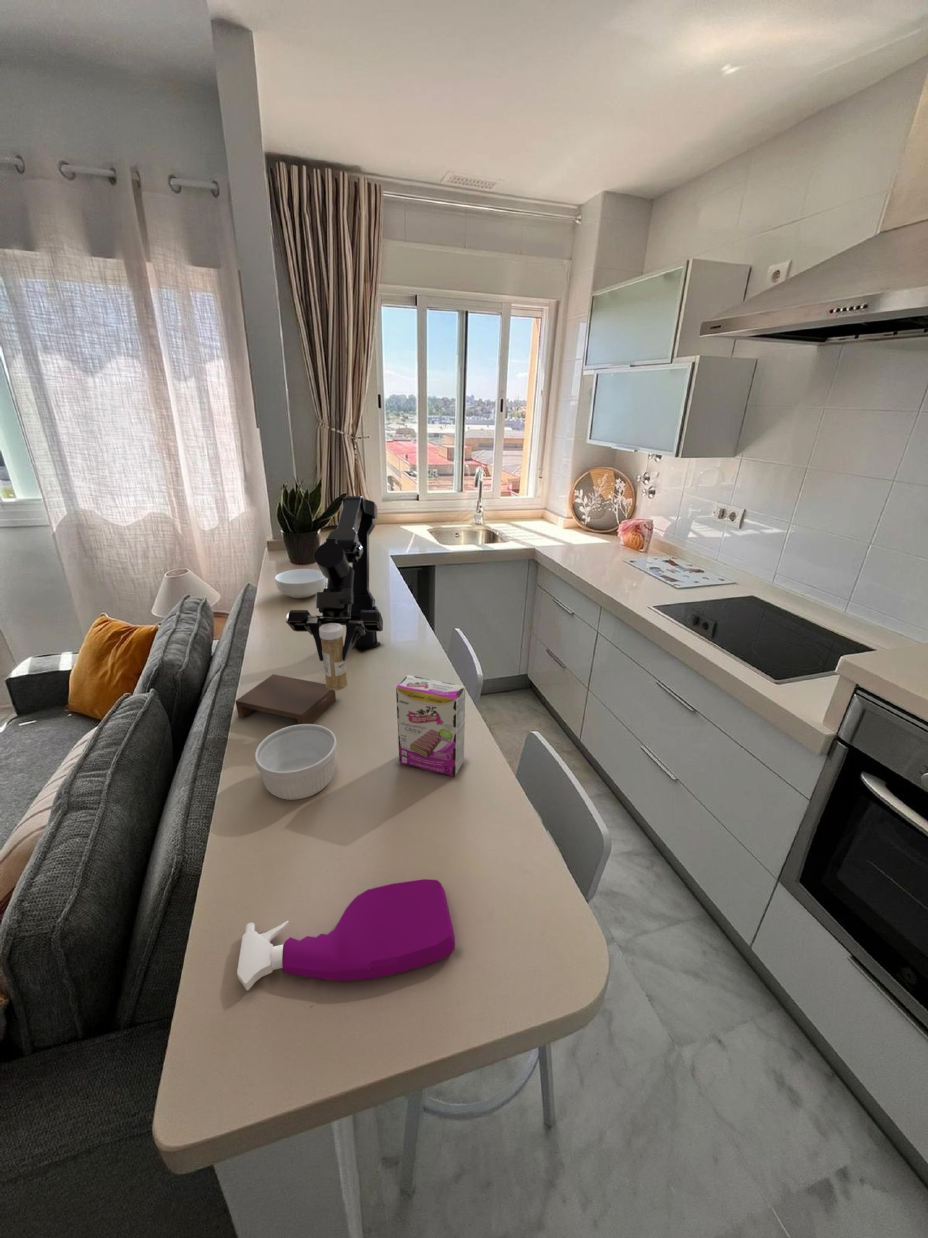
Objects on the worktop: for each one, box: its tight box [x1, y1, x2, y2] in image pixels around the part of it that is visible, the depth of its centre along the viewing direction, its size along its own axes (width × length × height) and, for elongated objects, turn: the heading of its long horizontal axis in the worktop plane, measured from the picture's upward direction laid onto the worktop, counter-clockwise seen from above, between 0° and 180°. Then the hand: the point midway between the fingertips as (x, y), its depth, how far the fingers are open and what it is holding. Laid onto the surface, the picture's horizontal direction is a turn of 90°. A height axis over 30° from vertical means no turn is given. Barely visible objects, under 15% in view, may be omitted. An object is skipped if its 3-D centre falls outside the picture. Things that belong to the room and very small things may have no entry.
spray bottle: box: [236, 878, 456, 991], centre depth 59 cm, size 3×11×24 cm
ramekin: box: [254, 723, 338, 801], centre depth 85 cm, size 13×13×7 cm
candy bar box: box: [395, 674, 466, 778], centre depth 87 cm, size 11×5×16 cm, turn 71°
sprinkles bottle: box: [319, 623, 349, 691], centre depth 100 cm, size 5×5×14 cm
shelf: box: [235, 673, 337, 725], centre depth 106 cm, size 12×16×4 cm
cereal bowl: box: [274, 568, 326, 599], centre depth 171 cm, size 17×17×7 cm
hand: (332, 660), depth 99 cm, fingers closed on sprinkles bottle, 4 cm apart
